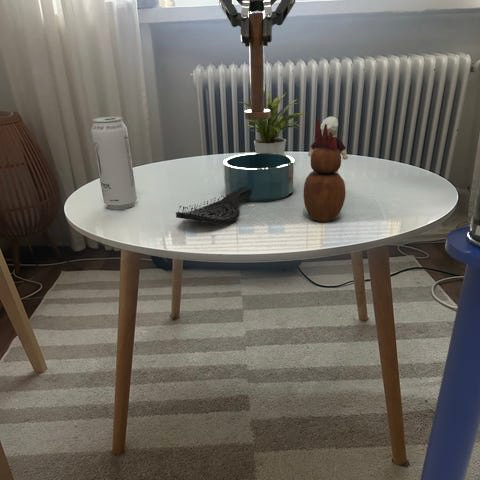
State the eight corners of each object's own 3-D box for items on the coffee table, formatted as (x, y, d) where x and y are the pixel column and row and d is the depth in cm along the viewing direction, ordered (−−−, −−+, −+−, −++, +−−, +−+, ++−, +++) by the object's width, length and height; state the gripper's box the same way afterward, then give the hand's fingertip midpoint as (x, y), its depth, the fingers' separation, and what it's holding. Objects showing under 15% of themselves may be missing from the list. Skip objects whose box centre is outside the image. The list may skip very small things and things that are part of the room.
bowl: (303, 187, 97) (304, 155, 94) (275, 206, 87) (275, 171, 84) (245, 180, 103) (244, 151, 100) (212, 198, 93) (210, 165, 90)
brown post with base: (274, 116, 89) (274, 12, 81) (263, 120, 86) (262, 12, 78) (252, 115, 91) (250, 13, 83) (240, 119, 88) (237, 13, 79)
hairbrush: (281, 179, 92) (206, 210, 73) (281, 198, 93) (208, 235, 74) (243, 175, 95) (162, 204, 76) (243, 194, 97) (164, 227, 78)
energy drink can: (102, 203, 93) (87, 118, 85) (134, 198, 94) (122, 115, 87) (107, 212, 88) (91, 122, 80) (140, 207, 89) (128, 119, 82)
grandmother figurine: (345, 182, 99) (350, 114, 93) (345, 187, 96) (351, 118, 90) (307, 181, 101) (309, 115, 94) (306, 186, 97) (308, 118, 91)
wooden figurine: (297, 215, 83) (299, 119, 75) (327, 210, 85) (332, 116, 77) (317, 227, 77) (322, 126, 70) (348, 221, 79) (357, 122, 71)
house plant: (258, 182, 101) (257, 96, 93) (223, 170, 112) (219, 91, 103) (312, 171, 108) (315, 89, 100) (274, 160, 118) (274, 85, 110)
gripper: (214, -61, 82) (211, 25, 77) (299, -65, 81) (300, 21, 76) (219, -19, 89) (216, 61, 85) (296, -23, 88) (298, 58, 84)
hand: (256, 41), depth 81 cm, fingers closed on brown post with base, 2 cm apart
